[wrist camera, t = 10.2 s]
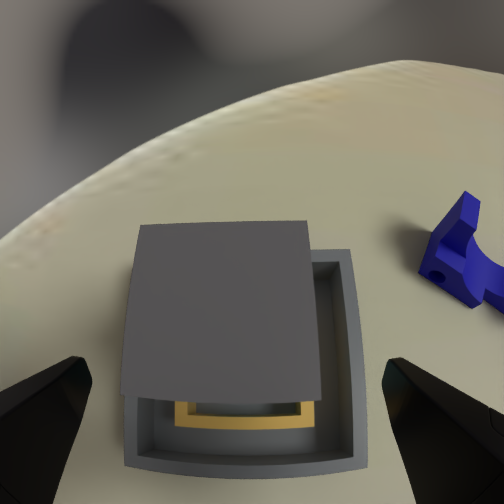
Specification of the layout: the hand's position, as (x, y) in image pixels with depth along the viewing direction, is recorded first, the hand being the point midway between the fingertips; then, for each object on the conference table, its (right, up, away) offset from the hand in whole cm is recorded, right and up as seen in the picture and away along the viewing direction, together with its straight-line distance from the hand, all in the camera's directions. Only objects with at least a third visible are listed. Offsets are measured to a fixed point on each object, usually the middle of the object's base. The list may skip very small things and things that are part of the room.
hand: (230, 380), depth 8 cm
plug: (0, -4, +10) cm, 11 cm away
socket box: (0, -4, +10) cm, 11 cm away
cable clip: (+20, 0, +13) cm, 23 cm away
